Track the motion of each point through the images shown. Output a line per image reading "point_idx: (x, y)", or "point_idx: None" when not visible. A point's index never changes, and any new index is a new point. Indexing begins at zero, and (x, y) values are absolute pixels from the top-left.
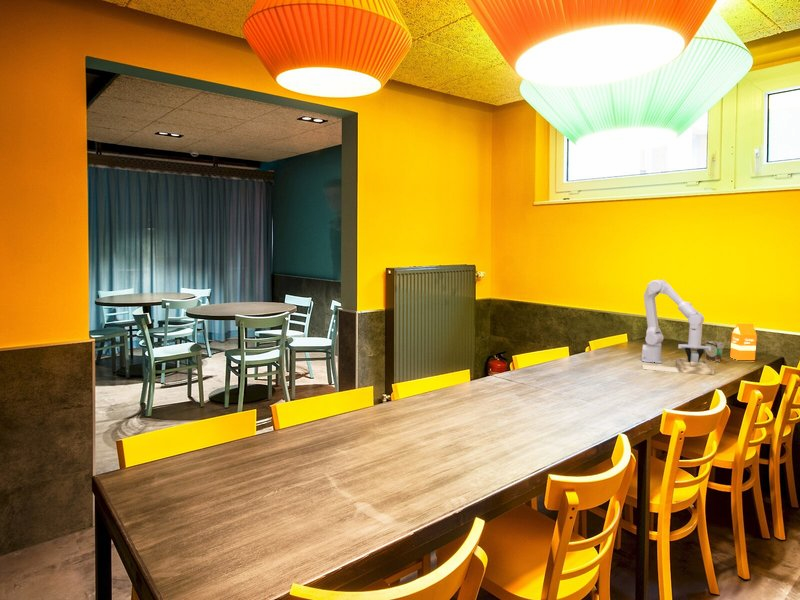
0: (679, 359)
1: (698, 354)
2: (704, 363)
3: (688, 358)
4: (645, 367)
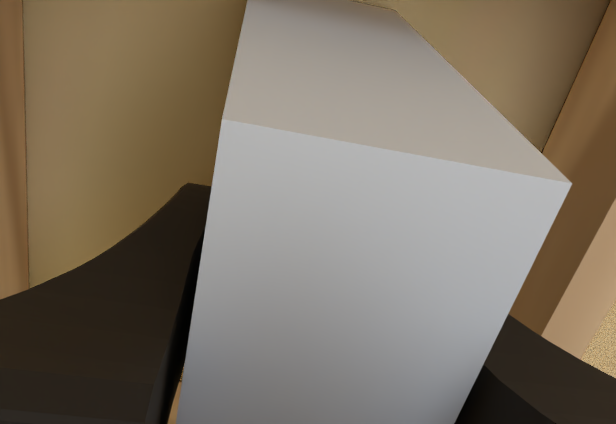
0: None
1: (231, 120)
2: None
3: None
4: None
